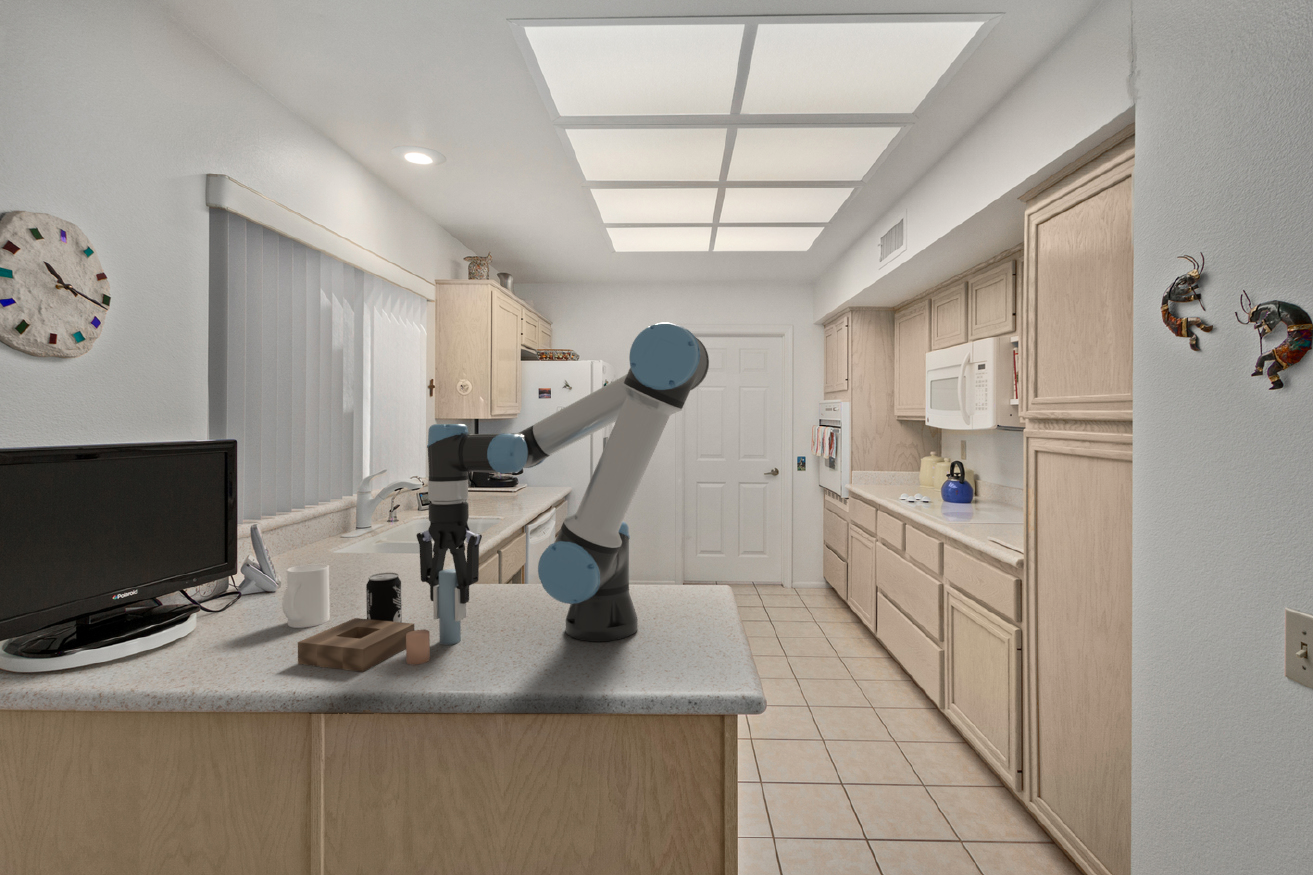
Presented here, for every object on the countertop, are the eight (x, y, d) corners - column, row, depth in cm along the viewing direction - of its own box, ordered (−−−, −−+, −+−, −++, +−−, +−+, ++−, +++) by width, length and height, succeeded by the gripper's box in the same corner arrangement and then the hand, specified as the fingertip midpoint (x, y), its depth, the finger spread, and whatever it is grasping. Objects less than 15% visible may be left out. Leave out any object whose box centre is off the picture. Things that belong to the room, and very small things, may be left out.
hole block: (414, 643, 119) (414, 623, 119) (363, 671, 105) (362, 649, 105) (355, 637, 123) (354, 618, 122) (297, 664, 109) (297, 642, 109)
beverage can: (388, 639, 121) (387, 580, 121) (359, 637, 122) (358, 579, 122) (408, 629, 128) (407, 572, 127) (380, 627, 129) (380, 571, 129)
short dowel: (434, 657, 112) (434, 630, 112) (420, 665, 108) (420, 638, 108) (415, 655, 113) (415, 628, 113) (401, 663, 109) (401, 636, 109)
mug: (265, 634, 125) (264, 576, 124) (301, 615, 137) (300, 563, 136) (304, 634, 124) (303, 576, 124) (337, 616, 136) (336, 563, 136)
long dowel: (464, 638, 122) (463, 569, 121) (453, 645, 118) (452, 574, 118) (447, 636, 123) (446, 568, 122) (435, 643, 119) (434, 573, 119)
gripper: (497, 500, 121) (498, 615, 122) (423, 498, 126) (424, 609, 126) (476, 505, 114) (478, 627, 114) (398, 502, 118) (400, 620, 119)
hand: (449, 617), depth 120 cm, fingers open, 4 cm apart
